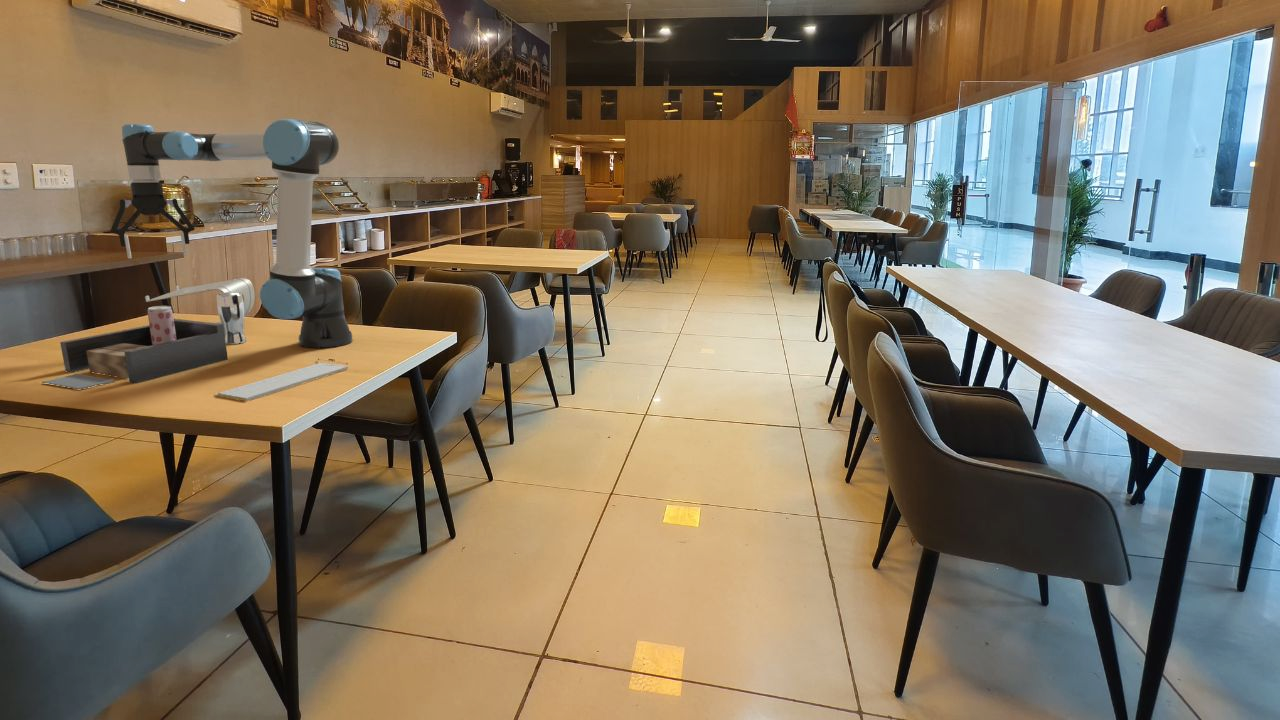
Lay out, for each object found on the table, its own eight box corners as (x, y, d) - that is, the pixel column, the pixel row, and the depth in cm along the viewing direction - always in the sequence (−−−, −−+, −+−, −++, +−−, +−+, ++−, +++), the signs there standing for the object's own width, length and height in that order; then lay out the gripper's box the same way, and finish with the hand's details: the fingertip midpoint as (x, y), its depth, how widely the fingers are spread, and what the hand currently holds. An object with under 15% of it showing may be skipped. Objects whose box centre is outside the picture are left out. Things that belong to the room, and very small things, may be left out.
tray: (227, 359, 202) (223, 324, 199) (135, 383, 178) (128, 344, 176) (162, 350, 211) (157, 316, 208) (65, 372, 187) (58, 334, 185)
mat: (114, 381, 180) (114, 380, 179) (80, 390, 172) (79, 388, 172) (77, 375, 184) (76, 373, 184) (42, 383, 177) (41, 381, 177)
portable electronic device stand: (231, 338, 228) (225, 289, 224) (149, 339, 224) (141, 289, 220) (259, 321, 252) (253, 277, 248) (185, 323, 248) (178, 278, 245)
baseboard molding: (210, 397, 171) (247, 404, 166) (208, 385, 170) (245, 392, 165) (314, 366, 198) (348, 371, 194) (313, 356, 198) (347, 361, 193)
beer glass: (252, 341, 223) (247, 293, 219) (230, 346, 217) (223, 296, 214) (240, 338, 227) (234, 291, 223) (217, 342, 221) (211, 294, 217)
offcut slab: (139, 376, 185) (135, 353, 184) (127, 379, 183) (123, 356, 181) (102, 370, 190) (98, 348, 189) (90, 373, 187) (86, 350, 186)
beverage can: (160, 365, 195) (151, 310, 192) (151, 361, 199) (143, 307, 195) (183, 361, 200) (175, 307, 196) (174, 357, 203) (166, 304, 199)
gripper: (196, 181, 216) (207, 253, 221) (92, 181, 203) (106, 257, 208) (197, 181, 209) (208, 255, 215) (90, 181, 196) (104, 260, 202)
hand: (158, 256), depth 211 cm, fingers open, 13 cm apart
